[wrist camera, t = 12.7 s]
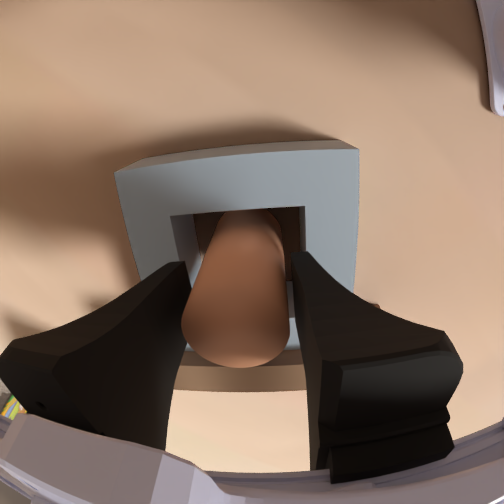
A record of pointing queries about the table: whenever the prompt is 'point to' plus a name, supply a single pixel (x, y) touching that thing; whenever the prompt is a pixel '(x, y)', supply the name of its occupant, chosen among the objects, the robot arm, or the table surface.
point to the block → (244, 202)
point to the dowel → (240, 293)
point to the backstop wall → (242, 374)
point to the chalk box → (9, 403)
